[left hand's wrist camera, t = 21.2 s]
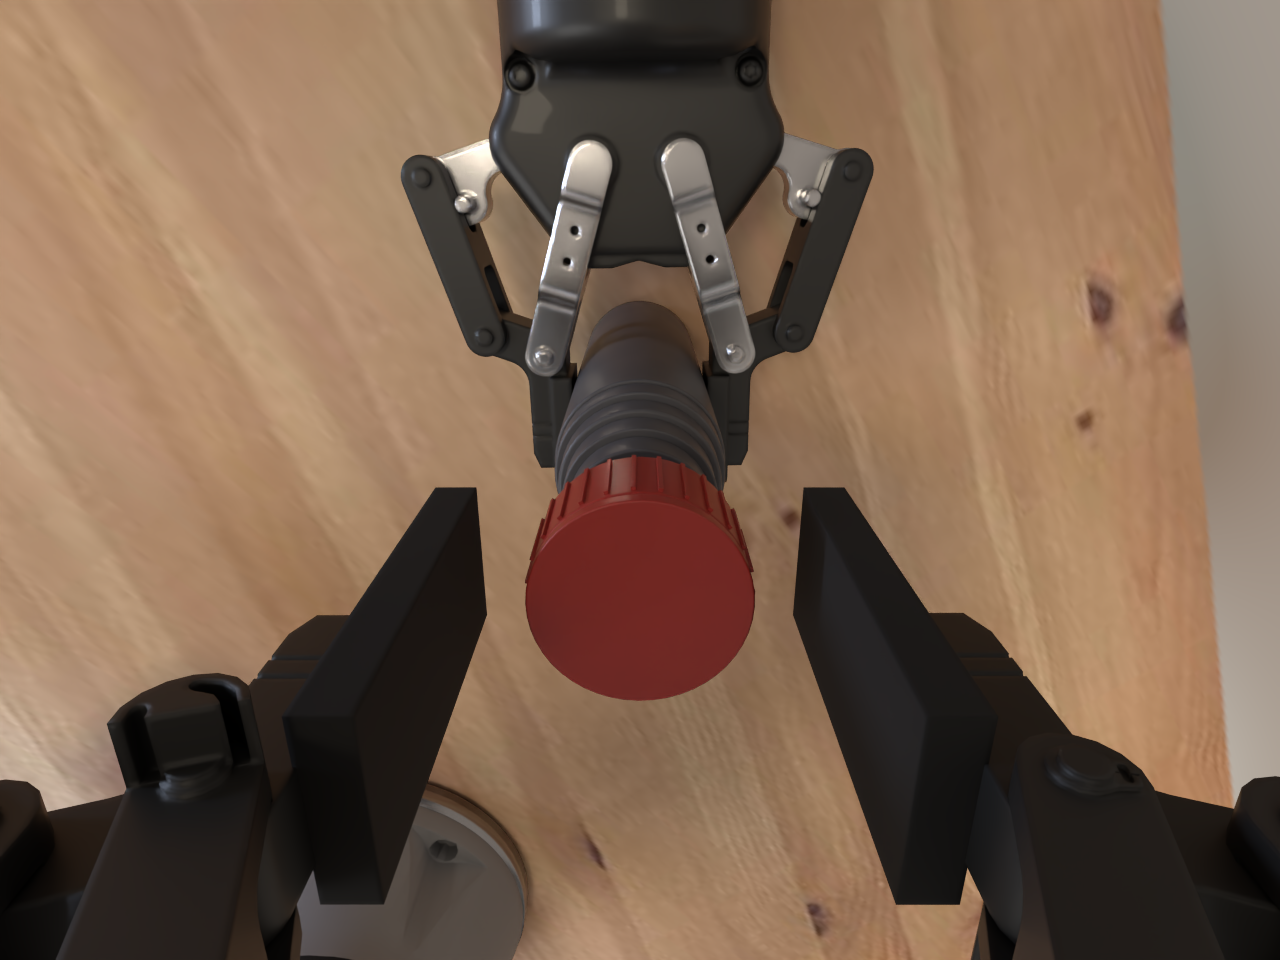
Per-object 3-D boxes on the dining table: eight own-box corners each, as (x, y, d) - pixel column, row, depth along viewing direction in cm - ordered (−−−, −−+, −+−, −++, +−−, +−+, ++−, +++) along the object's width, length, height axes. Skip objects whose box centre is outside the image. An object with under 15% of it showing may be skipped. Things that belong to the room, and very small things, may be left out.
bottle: (709, 376, 32) (801, 633, 14) (617, 421, 33) (590, 722, 14) (663, 282, 31) (699, 429, 12) (569, 330, 31) (470, 538, 13)
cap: (554, 645, 16) (542, 714, 14) (521, 464, 14) (501, 510, 12) (748, 626, 15) (764, 692, 13) (734, 441, 14) (750, 484, 12)
